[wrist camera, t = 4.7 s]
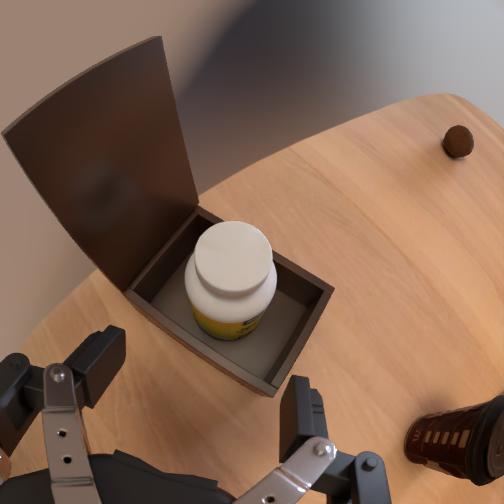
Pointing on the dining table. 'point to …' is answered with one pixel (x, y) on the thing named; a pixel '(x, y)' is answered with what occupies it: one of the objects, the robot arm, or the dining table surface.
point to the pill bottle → (230, 279)
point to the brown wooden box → (244, 349)
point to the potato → (459, 141)
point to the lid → (110, 158)
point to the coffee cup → (461, 441)
